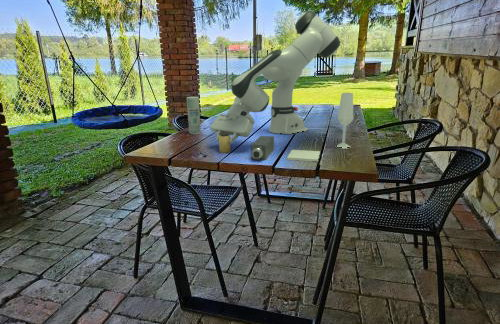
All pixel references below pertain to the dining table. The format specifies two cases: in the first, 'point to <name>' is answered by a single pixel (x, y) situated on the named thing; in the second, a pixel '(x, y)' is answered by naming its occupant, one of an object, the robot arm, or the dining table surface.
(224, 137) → the yellow cylinder
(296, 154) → the far side pad
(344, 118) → the champagne flute
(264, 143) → the motor housing
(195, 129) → the spray can
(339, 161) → the dining table surface
